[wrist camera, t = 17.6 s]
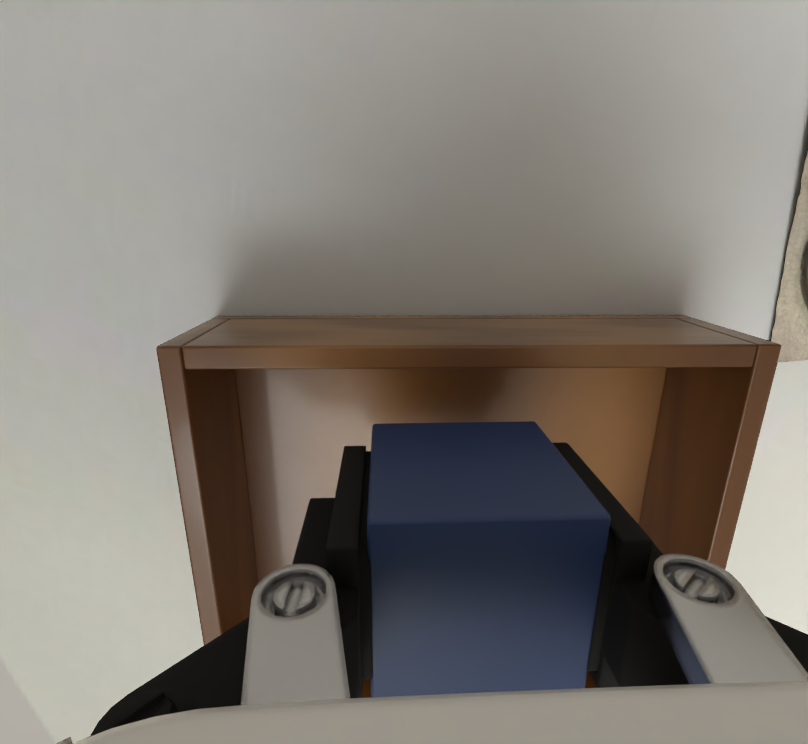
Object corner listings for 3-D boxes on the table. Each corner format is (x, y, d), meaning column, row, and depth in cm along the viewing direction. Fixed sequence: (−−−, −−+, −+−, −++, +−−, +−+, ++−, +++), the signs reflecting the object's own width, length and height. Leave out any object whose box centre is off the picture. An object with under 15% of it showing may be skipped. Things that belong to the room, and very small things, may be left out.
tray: (256, 658, 19) (222, 766, 15) (216, 315, 15) (154, 346, 11) (622, 651, 19) (678, 755, 16) (684, 314, 15) (783, 344, 11)
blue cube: (374, 561, 12) (370, 709, 8) (372, 422, 11) (366, 521, 7) (523, 557, 12) (584, 701, 9) (535, 420, 11) (613, 516, 8)
